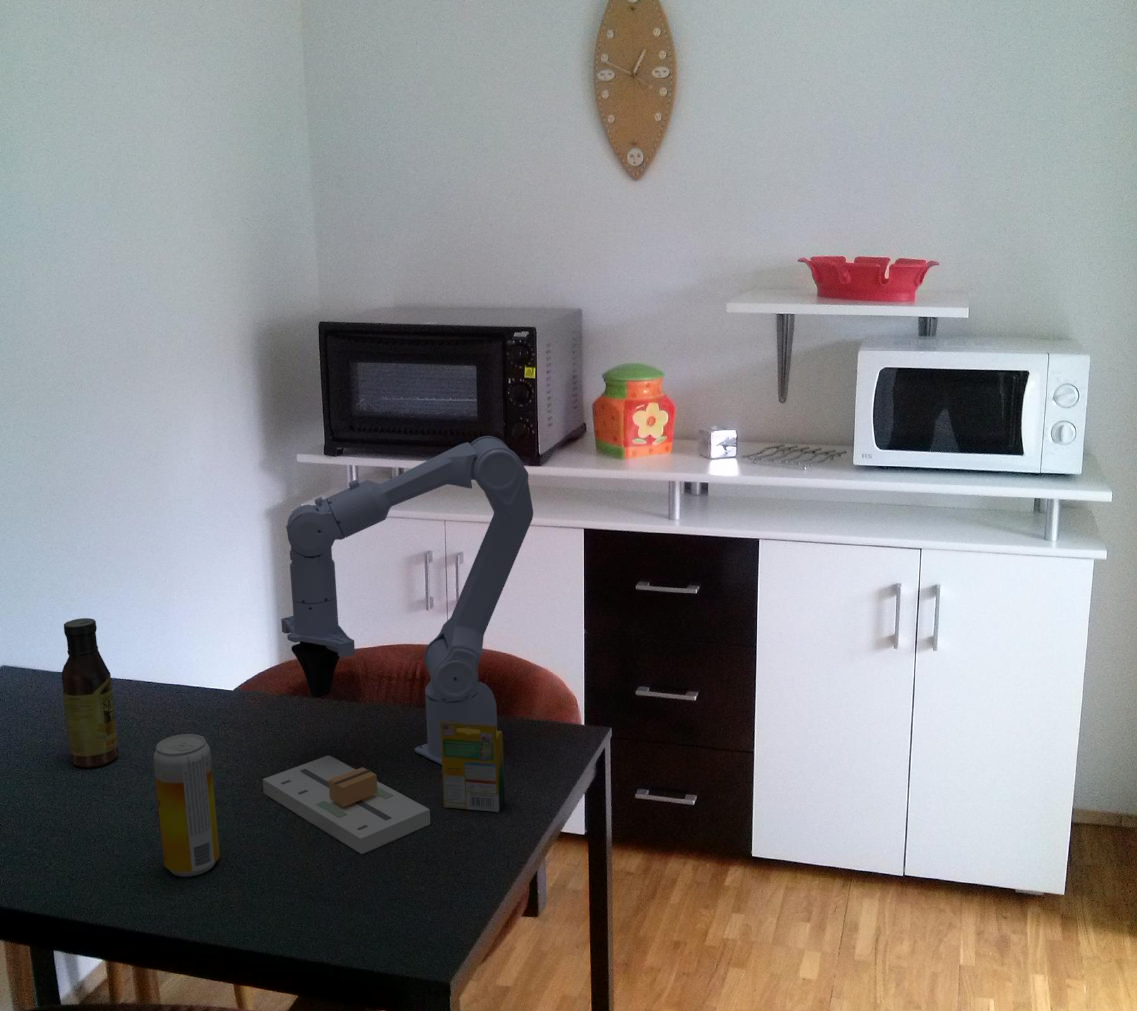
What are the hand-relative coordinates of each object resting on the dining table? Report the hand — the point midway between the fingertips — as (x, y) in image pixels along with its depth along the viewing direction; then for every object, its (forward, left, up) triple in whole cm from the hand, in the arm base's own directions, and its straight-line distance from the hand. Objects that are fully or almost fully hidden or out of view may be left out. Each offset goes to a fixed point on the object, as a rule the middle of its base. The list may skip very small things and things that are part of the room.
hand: (320, 694), depth 159 cm
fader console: (+5, +12, -10) cm, 17 cm away
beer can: (+25, +11, -11) cm, 29 cm away
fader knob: (+5, +14, -8) cm, 17 cm away
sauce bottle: (+21, -25, -11) cm, 34 cm away
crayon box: (-7, +23, -11) cm, 26 cm away
